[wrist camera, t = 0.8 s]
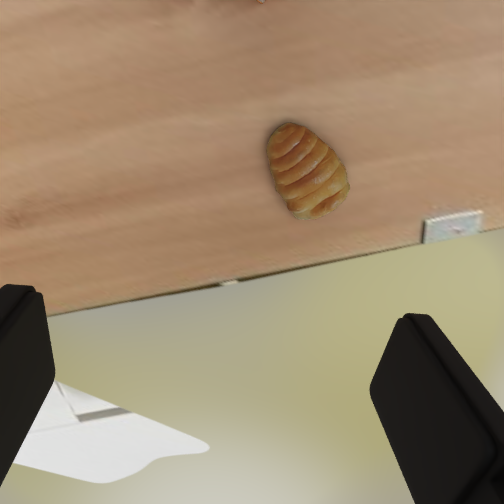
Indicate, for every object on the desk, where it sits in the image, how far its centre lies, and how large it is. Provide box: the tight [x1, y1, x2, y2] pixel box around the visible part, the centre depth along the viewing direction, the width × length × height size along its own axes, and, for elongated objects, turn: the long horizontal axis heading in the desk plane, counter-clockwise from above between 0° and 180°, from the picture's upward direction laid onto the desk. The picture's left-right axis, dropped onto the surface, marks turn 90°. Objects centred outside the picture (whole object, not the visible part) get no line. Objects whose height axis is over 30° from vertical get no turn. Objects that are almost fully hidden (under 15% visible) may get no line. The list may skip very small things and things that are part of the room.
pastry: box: [266, 123, 350, 220], centre depth 35 cm, size 9×7×4 cm
